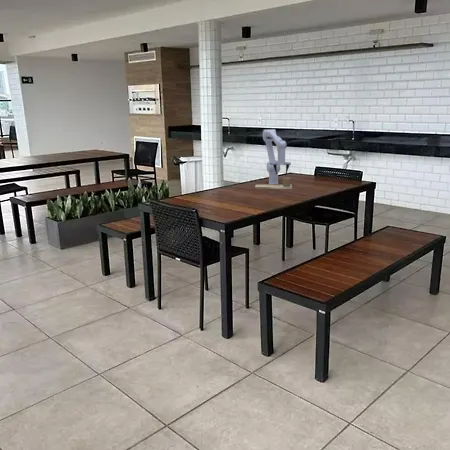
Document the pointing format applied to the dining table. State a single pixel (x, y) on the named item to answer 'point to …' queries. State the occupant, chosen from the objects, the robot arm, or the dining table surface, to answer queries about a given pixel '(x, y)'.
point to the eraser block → (286, 181)
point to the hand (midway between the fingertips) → (281, 174)
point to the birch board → (272, 187)
